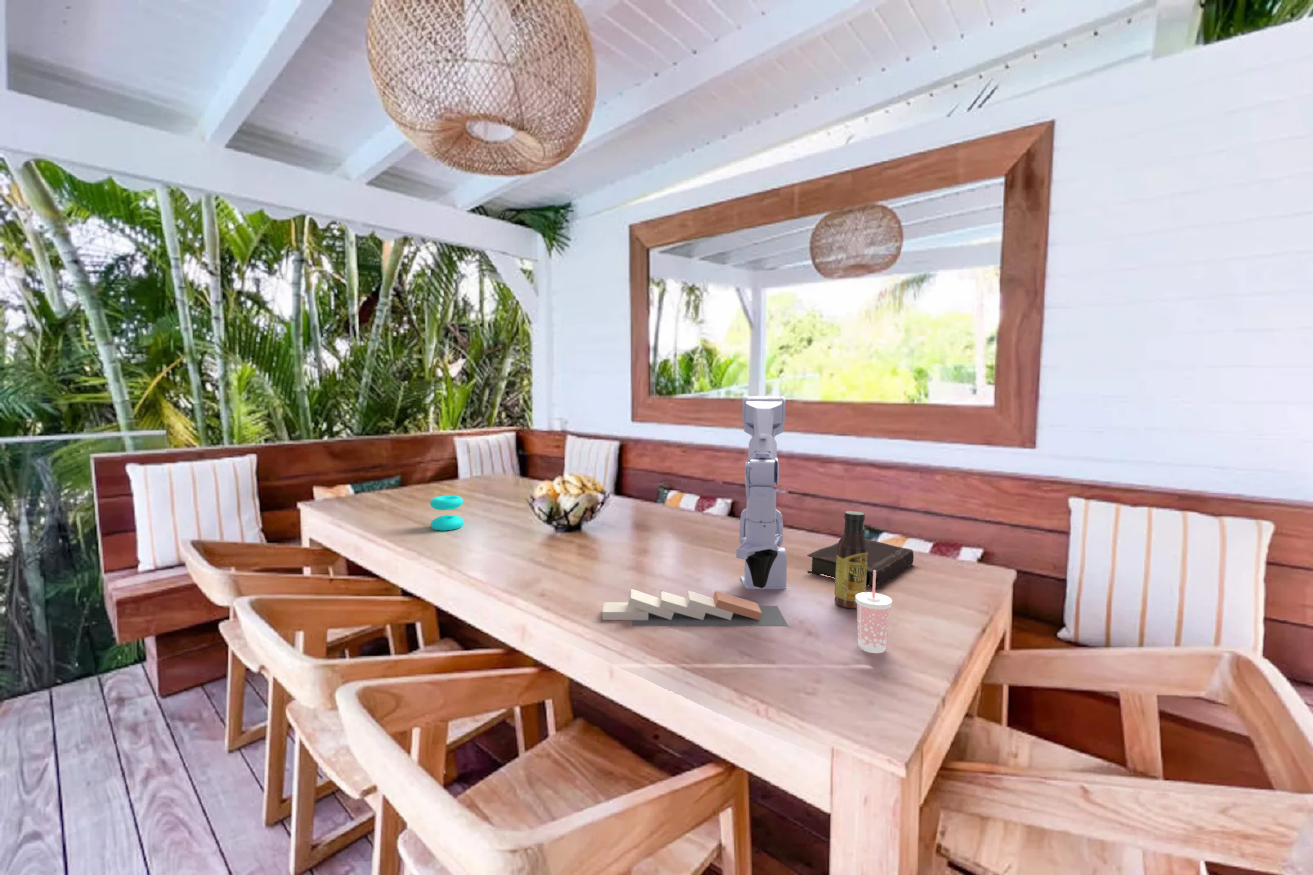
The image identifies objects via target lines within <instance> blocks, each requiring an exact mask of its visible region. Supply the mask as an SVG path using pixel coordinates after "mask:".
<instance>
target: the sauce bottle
mask: <svg viewBox="0 0 1313 875" xmlns="http://www.w3.org/2000/svg"><path fill="white" fill-rule="evenodd" d="M843 516H844V517H843V518H844V529H843V532H844V533H843V534H842V536H841V537H840V539H839V540H838V542H837V543H838V551H837V559H836V576H835V579H834V592H833V593H834V603H835V604H836V605H838V606H840V607H842V608H847V609H857V603H856V598H855V595H857V594H858V593H862V592H867V590H866V589H867V583H866V577H867V561H868V551H867V548H866V544H865V540H864V539H865V536H864V522H865V518H866V515H865V513H864V512H862V511H855V510H846V511H844V515H843Z"/></svg>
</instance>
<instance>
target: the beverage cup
mask: <svg viewBox="0 0 1313 875" xmlns="http://www.w3.org/2000/svg"><path fill="white" fill-rule="evenodd" d="M876 584H877V581H876V570H873V584H872V590H871V592H870V591H866V592H862V593H858V594H857V595H855V598H856V603H857V608H856V614H857V615H856V617H857V618H856V620H857V646H858V648H860V650H862V651H864V652H867V653H870V654H871V653H873V654H881V653H885V652H886V647H887V640H888V639H887V637H888V631H889V621H890V620H889V619H890V612H891V608H892V606H893V605H892V604H893V600H892V598H891V597H890V596H888V595H884V594H883V593H878V592H876V589H875V586H876Z"/></svg>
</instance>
